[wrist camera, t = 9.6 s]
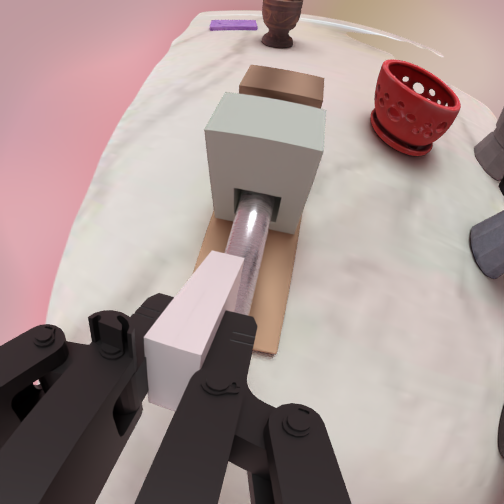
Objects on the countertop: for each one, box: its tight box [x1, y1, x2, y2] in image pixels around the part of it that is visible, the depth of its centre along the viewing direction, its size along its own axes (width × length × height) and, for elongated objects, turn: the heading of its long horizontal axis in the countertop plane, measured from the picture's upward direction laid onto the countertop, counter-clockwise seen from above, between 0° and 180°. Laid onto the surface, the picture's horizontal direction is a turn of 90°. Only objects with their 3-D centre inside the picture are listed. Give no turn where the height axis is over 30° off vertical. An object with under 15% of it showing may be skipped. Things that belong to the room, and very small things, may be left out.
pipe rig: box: [193, 65, 324, 354], centre depth 25 cm, size 9×26×12 cm, turn 167°
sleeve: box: [204, 92, 326, 235], centre depth 23 cm, size 8×5×12 cm, turn 77°
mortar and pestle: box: [262, 0, 303, 48], centre depth 42 cm, size 12×9×20 cm
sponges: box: [210, 20, 257, 31], centre depth 56 cm, size 7×13×2 cm, turn 92°
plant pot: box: [371, 60, 461, 156], centre depth 33 cm, size 13×13×12 cm
